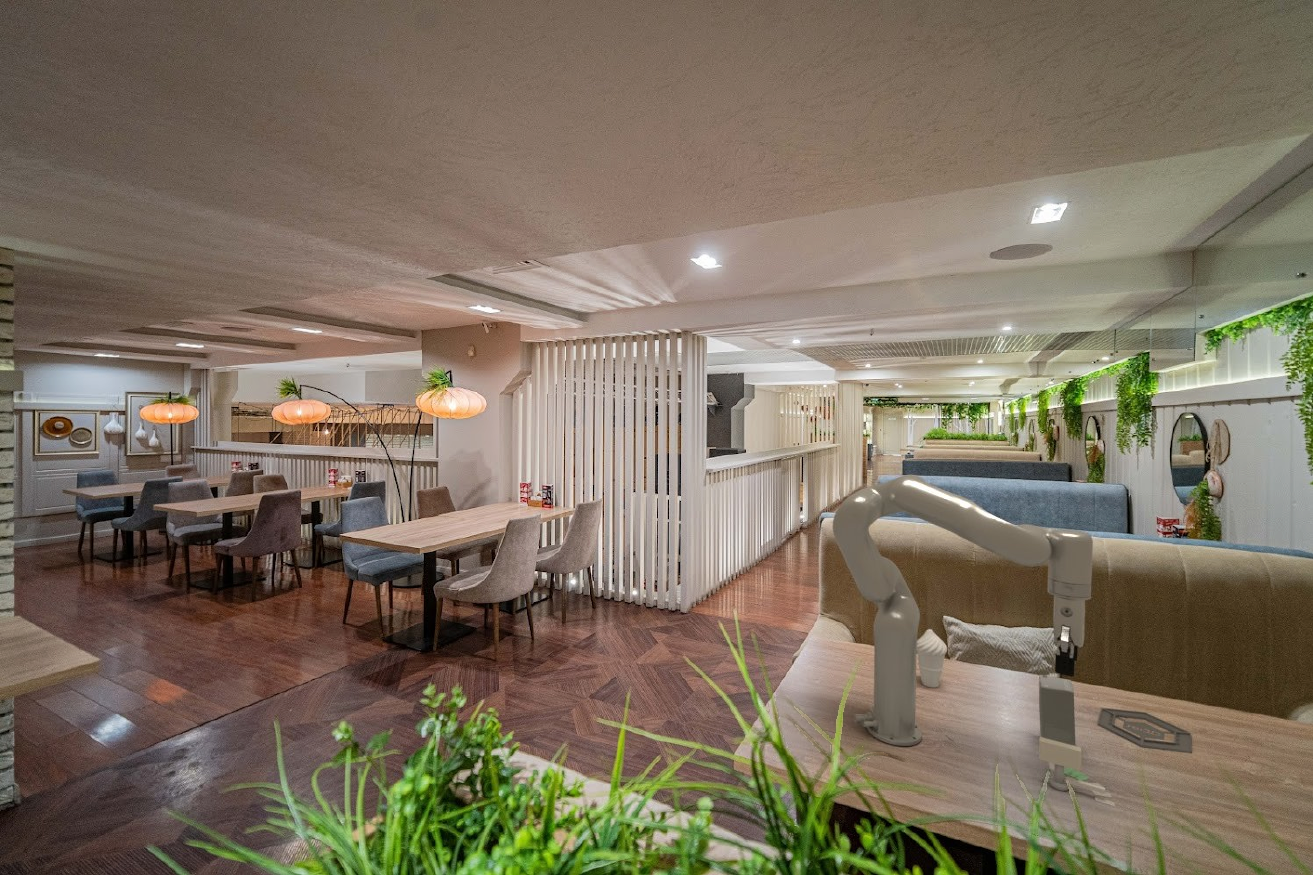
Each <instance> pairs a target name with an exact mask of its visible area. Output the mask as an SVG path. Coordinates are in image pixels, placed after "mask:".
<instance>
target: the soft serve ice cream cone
mask: <svg viewBox="0 0 1313 875" xmlns="http://www.w3.org/2000/svg"><path fill="white" fill-rule="evenodd" d="M947 651H948V646H947V645H946V643H945V642H944V641H943V640H942V639H941V638H940V637H939V636H938V635H937V634H936V633H935V632H934V631H933V629H932V628H928V629H927V630H925V632H924V633H923V635H922V636H921V637H920V638H917V660H918V661H917V666H918V669H919V674H920V679H921V683H922V685H924V686H925V687H928V688H932V689H933V688H938V687H939V685H940V680H941V676H942V672H943V671H944V662H945V661H944V660H945V659H946V656H945V655H946V654H947Z"/></svg>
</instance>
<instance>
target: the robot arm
mask: <svg viewBox="0 0 1313 875" xmlns="http://www.w3.org/2000/svg"><path fill="white" fill-rule="evenodd" d="M901 512H904V513H906V514H908V515H910V516H913V517H915V518H918V519H920V520H922V521H924V522H927V523H930V524H932V525H934V526H936V527H938V528H942V529H944V530H946V531H948V532H951V533H952V534H955V535H956V536H958V537H960V538H961V539H964V540H966V541H968V542H970V543H972V544H974V545H976V546H978V547H980V548H982V549H984V550H986V551H988V552H989V553H992V554H994V555H997V556H999V557H1002V558H1004V559H1007V560H1009V561H1012V562H1013V563H1016V564H1019V565H1022V566H1025V567H1039V566H1041V565H1044V564H1045V563H1047V562H1048V566H1047V570H1048V571H1047V590H1046V591H1047V593H1048V594H1049V595H1052V596H1053V620H1052V621H1053V640H1054V642H1055V643H1056V644H1057V645H1056V653H1055V657H1054V658H1055V659H1054V660H1055V661H1054V662H1055V664H1054V671H1055V673H1056V674H1059V675H1063V676H1067V677H1075V662H1076V661H1077V660H1078V648H1079V649H1080V648H1082V647H1083V645H1084V641H1085V628H1086V627H1085V625H1086V624H1085V622H1086V601H1088V600H1089V601H1090V600H1091V599H1092V579H1093V578H1092V576H1093V572H1092V571H1093V550H1094V549H1093V546H1094V545H1093V543H1094V541H1093V538H1092V536H1091V535H1090V534H1089V533H1087V532H1085V531H1082V530H1077V529H1066V528H1065V529H1063V528H1061V529H1060V528H1059V529H1056V528H1055V529H1054V528H1049V527H1043V526H1040V525H1039V526H1038V525H1034V524H1027V523H1026V524H1025V523H1023V524H1018V525H1017V524H1014V523H1011V522H1008V521H1006V520H1005V519H1002V518H999V517H998V516H996V515H994V514H992V513H989V512H988V511H986V510H985V509H984V508H982V507H980V505H978V504H977V503H975V502H973V501H972V500H970V499H969V498H967V497H964V496H961V495H958V494H956V493H953V492H950V491H949V490H948V491H947V490H946V489H942V488H940V487H938V486H936V485H933V484H930V483H928V482H926V480H925V479H924V478H922V477H920V476H919V475H916V474H906V475H902V476H899V477H897V478H893V479H890V480H888V481H885V482H880V483H877V484H874V485H872V486H869V487H865V488H863V489H859V490H857V491H856V492H854V493H852V494H850V495H849V496H848V497H847V498H846V499H844V501H842V502H841V504H840V505H839V506H838V508H837V510H836V512H835V513H834V516H833V520H832V532H833V537H834V540H835V543H836V544H837V547H838V549H839V550H840V553H841V554H842V557H843V560H844V561H845V564H846V566H847V567H848V570H849V572H850V574H851V576H852V578H853V580H854V582H855V585H856V587H857V589H858V591H859V593H860V594H861V595H862V596H863V598H865V600H867V601H868V602H871V603H875V605H876V607H877V610H878V611H877V613H876V615H875V618H874V622H873V642H874V645H873V646H874V647H873V648H874V649H873V651H874V655H873V656H874V660H873V661H874V662H873V666H874V667H873V675H874V676H873V707H870V708H869V712H866V713H865V714H864V713H863V714H862V713H854V714H853V720H854V723H857V724H858V723H861V724H862V725H863V727H864V728H866V729H867V731H868V733H869V734H871V736H873V737H875V739H877V740H879V741H882V742H884V743H887V744H889V745H893V746H898V747H901V746H902V747H910V746H915V745H917V744H919V743H920V742H921V741H922V738H923V733H922V730H921V728H920V727H919V726H918V725H917V724H916V709H917V707H916V705H917V704H916V702H917V698H916V697H917V656H918V654H917V640H918V630H919V625H920V621H921V614H920V609H919V606H918V604H917V602H916V600H915V598H914V596H913V594H912V592H911V590H910V588H909V586H908V584H907V582H906V580H905V578H904V576H903V574H902V572H901V570H900V569H899V568H898V565H896V564H895V563H894V562H893V561H892V560H891V559H889V558H887V557H885V556H882V555H881V552H880V550H879V549H878V547H877V544H876V542H875V541H874V539H873V537H872V536H871V534H870V531H869V528H870V527H871V525H873V524H874V523H875V522H876V521H877V520H878V519H881V518H884V517H887V516H891V515H894V514H898V513H901Z"/></svg>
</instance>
